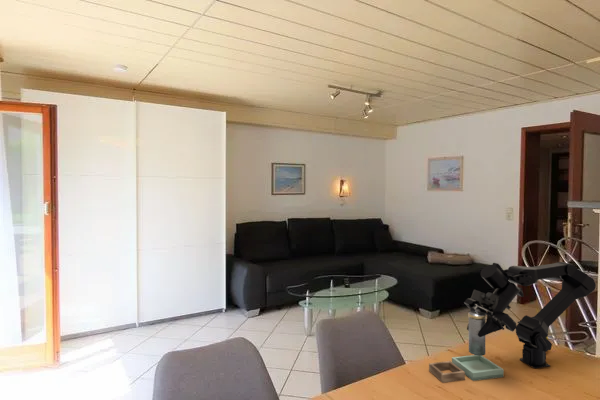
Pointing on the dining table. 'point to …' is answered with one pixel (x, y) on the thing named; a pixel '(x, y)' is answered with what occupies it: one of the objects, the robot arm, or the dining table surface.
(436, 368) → the holder
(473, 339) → the grey cylindrical piece
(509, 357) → the dining table surface
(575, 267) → the robot arm
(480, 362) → the tray
